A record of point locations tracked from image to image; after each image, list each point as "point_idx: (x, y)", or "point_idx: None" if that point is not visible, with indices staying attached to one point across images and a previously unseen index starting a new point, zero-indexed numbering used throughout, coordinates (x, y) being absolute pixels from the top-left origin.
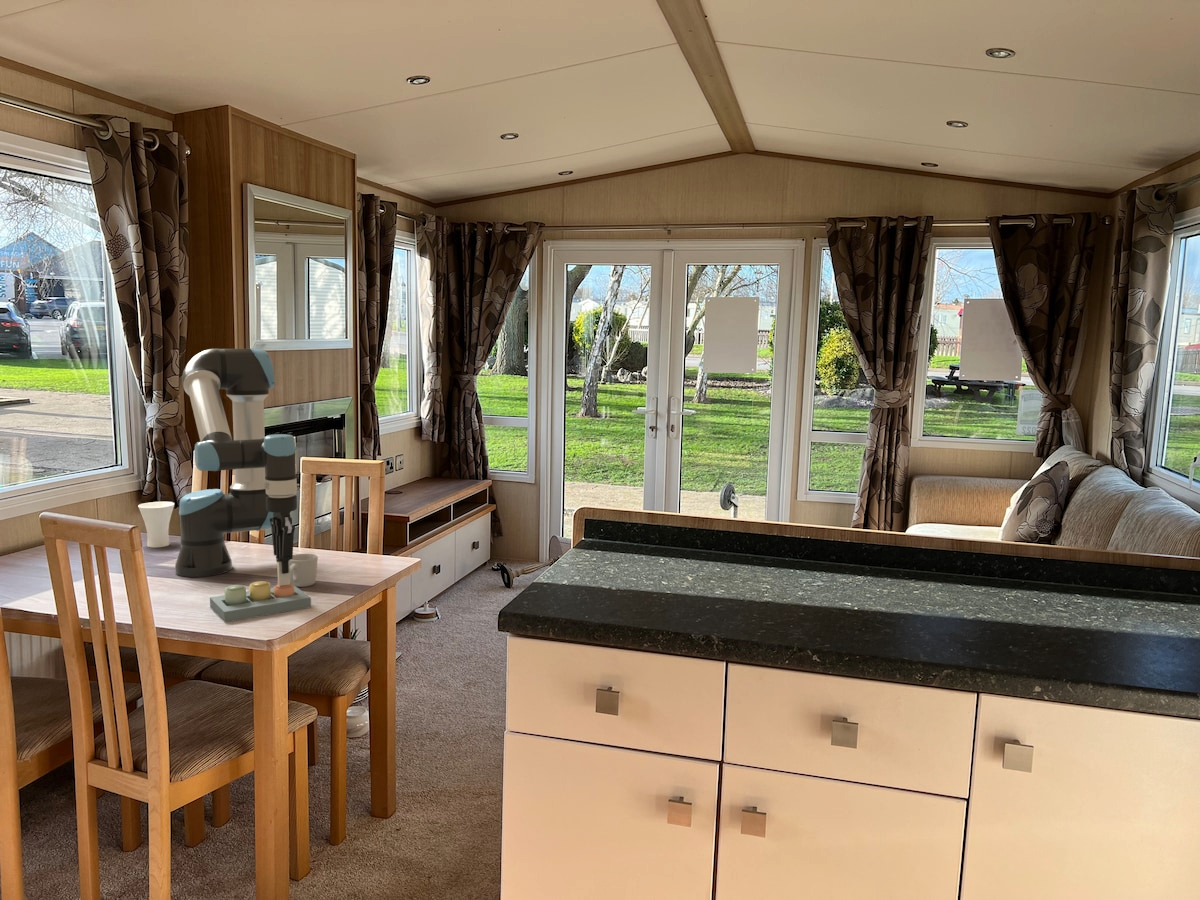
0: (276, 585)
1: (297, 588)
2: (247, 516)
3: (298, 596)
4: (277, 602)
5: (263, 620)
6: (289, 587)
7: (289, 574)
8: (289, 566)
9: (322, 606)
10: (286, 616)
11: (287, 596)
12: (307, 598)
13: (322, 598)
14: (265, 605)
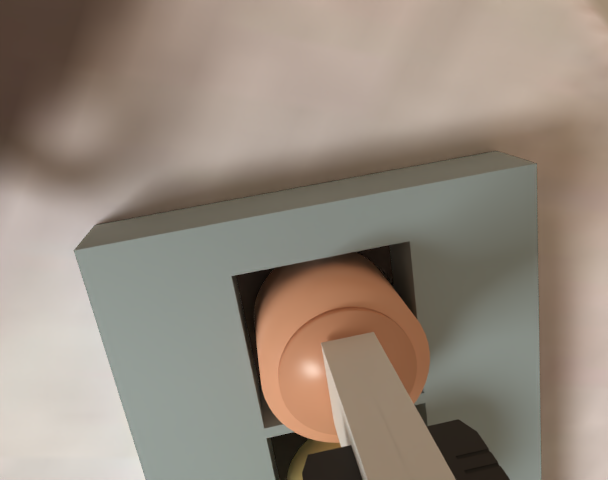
0: (327, 429)
1: (228, 228)
2: None
3: (462, 247)
4: (527, 391)
5: (587, 428)
6: (405, 331)
7: (405, 389)
8: (437, 449)
9: (516, 66)
10: (591, 314)
11: (422, 322)
12: (534, 187)
13: (314, 22)
14: (539, 456)
